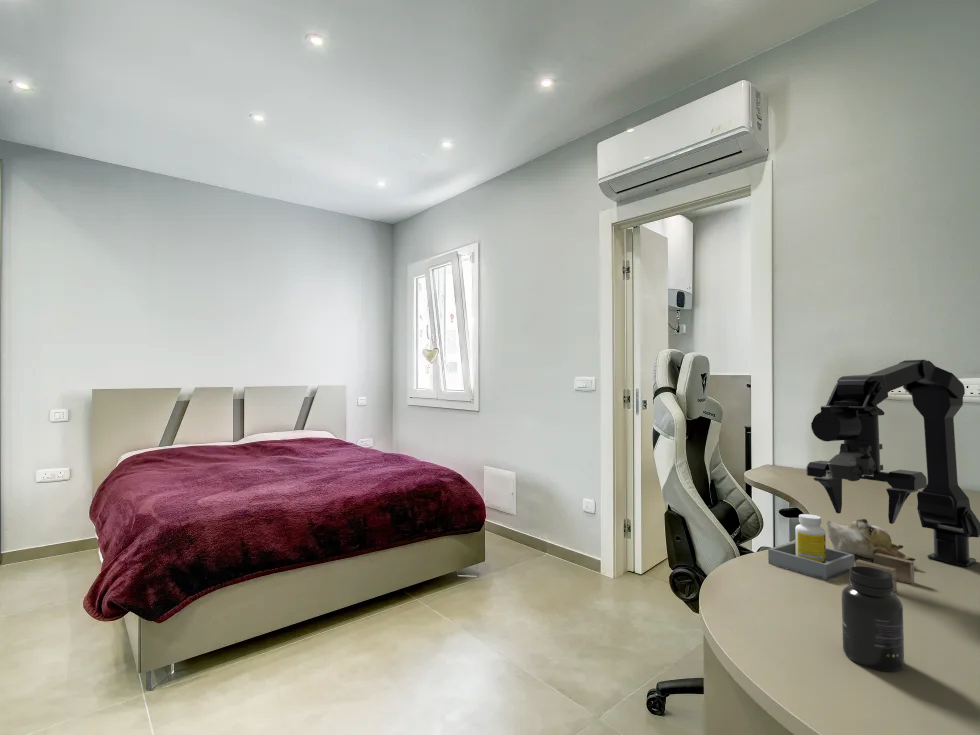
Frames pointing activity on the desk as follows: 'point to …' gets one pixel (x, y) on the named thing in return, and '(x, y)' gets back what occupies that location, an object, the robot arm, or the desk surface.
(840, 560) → the tray
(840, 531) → the ceramic sculpture
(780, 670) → the desk surface
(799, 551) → the supplement bottle
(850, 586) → the supplement bottle
